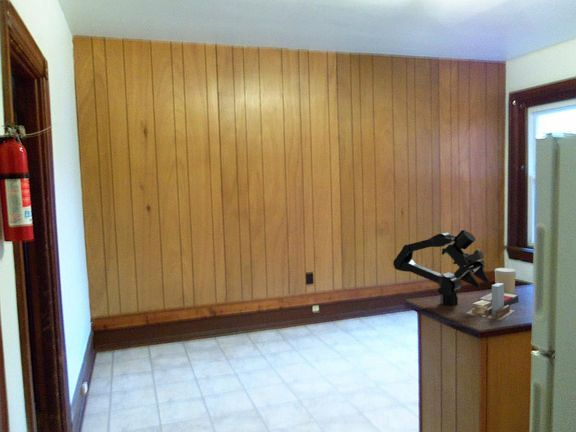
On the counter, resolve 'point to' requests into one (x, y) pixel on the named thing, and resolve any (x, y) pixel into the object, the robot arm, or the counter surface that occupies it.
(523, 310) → the counter surface
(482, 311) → the offcut stack
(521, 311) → the counter surface
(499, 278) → the coffee cup
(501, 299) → the light blue brick
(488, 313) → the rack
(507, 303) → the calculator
